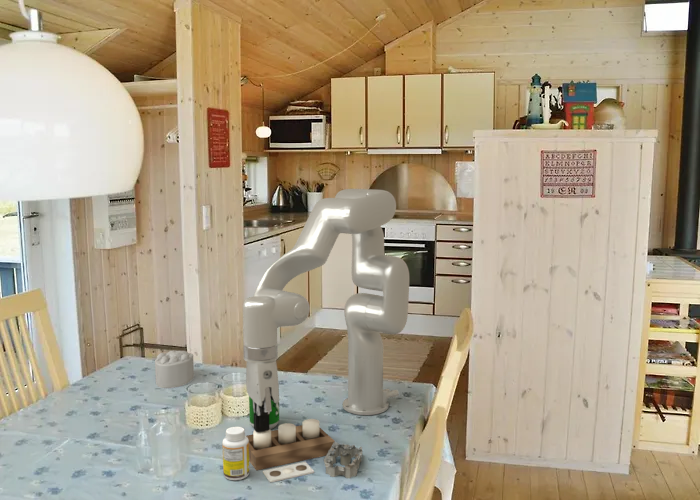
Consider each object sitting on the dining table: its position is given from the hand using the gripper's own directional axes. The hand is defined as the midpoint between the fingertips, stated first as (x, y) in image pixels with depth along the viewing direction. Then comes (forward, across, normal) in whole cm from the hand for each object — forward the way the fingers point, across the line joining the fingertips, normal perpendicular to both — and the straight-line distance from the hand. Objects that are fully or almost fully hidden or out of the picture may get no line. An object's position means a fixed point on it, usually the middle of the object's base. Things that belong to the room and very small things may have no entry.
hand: (261, 430), depth 149 cm
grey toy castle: (+7, -12, -15) cm, 20 cm away
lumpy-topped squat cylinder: (+7, +62, +8) cm, 62 cm away
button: (+4, 0, -12) cm, 13 cm away
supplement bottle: (+7, -6, +8) cm, 12 cm away
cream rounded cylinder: (+4, 0, 0) cm, 4 cm away
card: (+6, -10, -3) cm, 12 cm away
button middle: (+4, 0, -6) cm, 7 cm away
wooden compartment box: (+6, 0, -6) cm, 9 cm away
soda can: (+6, +17, -6) cm, 19 cm away
